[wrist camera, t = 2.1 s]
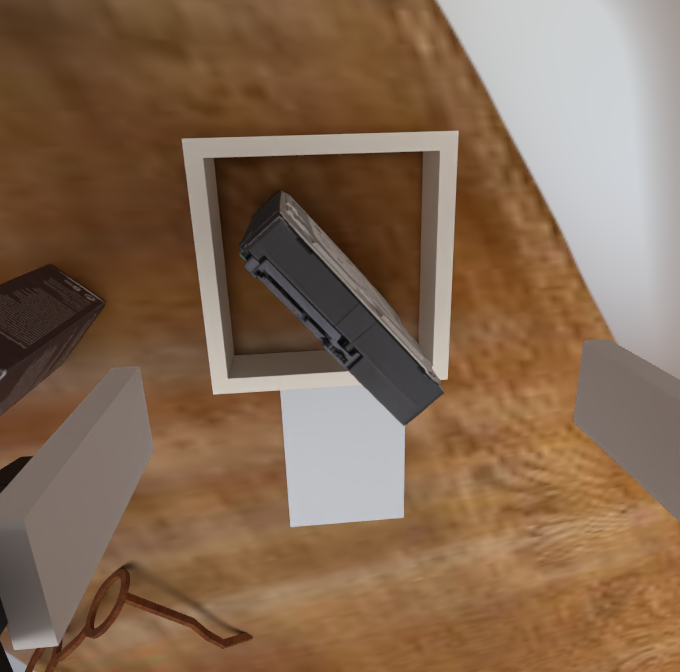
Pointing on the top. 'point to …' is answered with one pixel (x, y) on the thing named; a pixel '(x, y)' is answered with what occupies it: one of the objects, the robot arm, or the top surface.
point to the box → (39, 328)
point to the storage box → (319, 365)
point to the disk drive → (338, 306)
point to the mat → (341, 456)
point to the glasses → (122, 598)
